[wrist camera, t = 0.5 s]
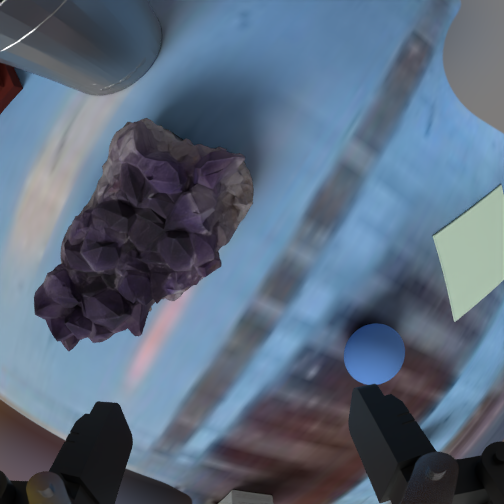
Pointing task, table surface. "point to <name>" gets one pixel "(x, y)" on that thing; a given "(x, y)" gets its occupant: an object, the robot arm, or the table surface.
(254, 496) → the supplement box
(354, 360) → the ball
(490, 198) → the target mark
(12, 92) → the trophy
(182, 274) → the geode
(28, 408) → the table surface
